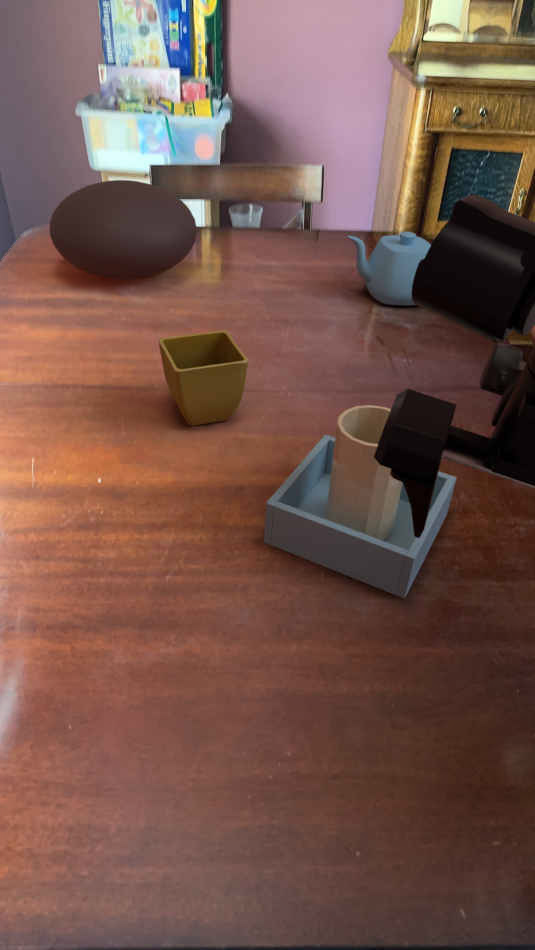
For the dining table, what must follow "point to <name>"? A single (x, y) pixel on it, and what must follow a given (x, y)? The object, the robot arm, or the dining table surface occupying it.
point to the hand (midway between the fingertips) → (479, 555)
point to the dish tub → (343, 549)
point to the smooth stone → (123, 229)
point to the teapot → (391, 266)
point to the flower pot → (204, 375)
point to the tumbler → (362, 475)
